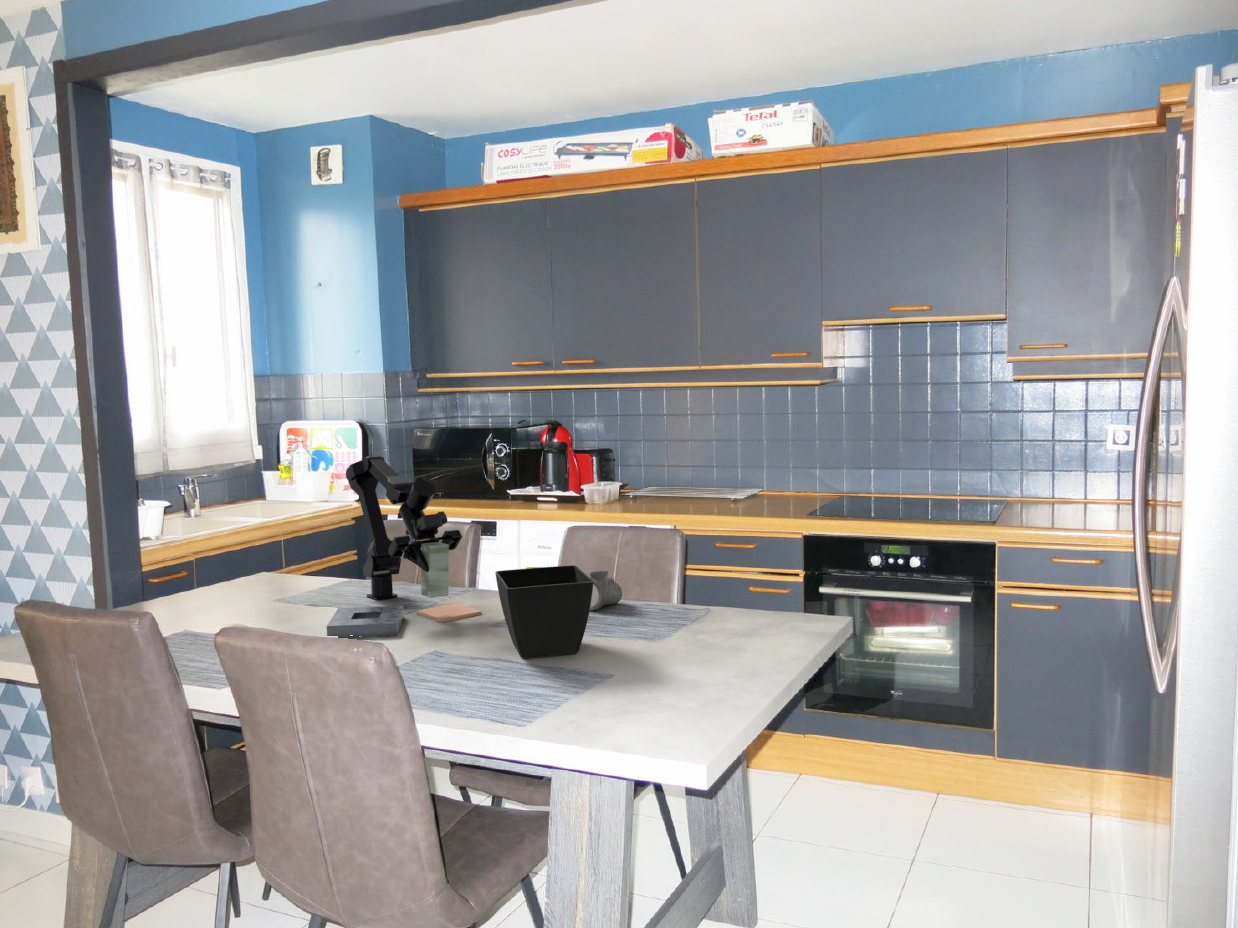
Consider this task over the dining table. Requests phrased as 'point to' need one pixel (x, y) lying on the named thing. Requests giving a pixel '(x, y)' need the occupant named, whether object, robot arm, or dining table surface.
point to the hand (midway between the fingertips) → (437, 569)
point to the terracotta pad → (448, 612)
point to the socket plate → (366, 621)
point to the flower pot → (545, 608)
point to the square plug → (435, 570)
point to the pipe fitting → (604, 590)
